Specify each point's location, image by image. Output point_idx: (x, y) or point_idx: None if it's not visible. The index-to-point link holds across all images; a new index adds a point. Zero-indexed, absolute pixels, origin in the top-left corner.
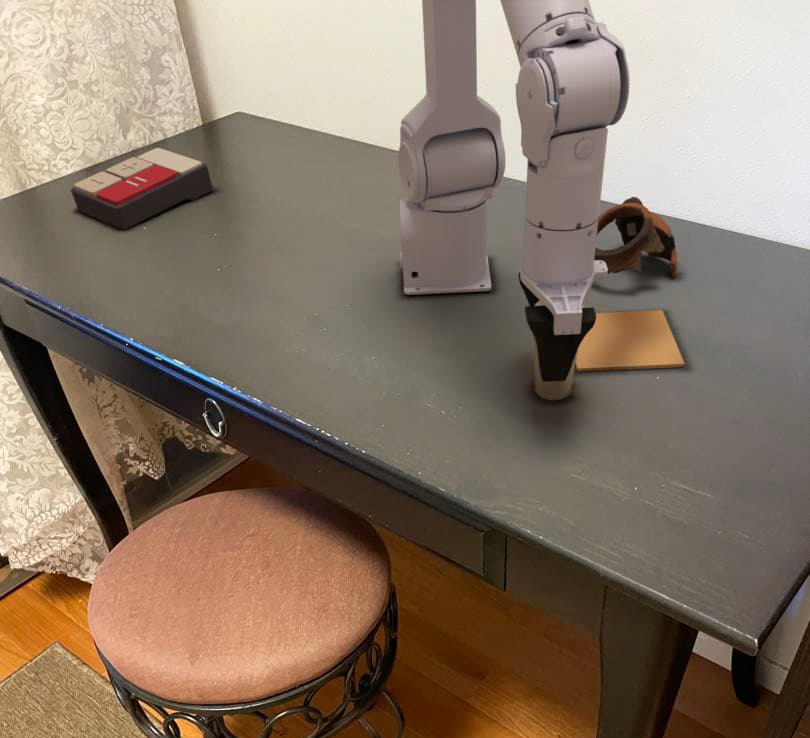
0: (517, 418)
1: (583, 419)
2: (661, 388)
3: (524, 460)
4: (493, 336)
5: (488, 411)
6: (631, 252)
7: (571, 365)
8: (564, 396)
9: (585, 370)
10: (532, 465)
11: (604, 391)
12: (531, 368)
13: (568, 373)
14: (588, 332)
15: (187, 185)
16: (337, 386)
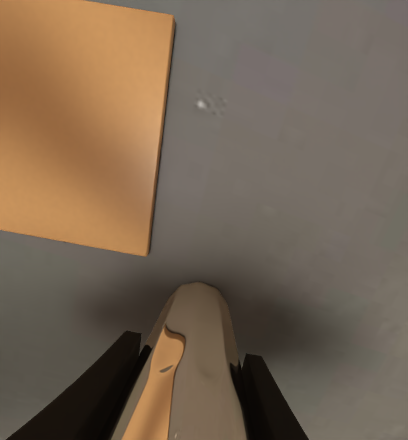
0: None
1: (290, 287)
2: (241, 111)
3: (357, 392)
4: (20, 345)
5: None
6: None
7: (281, 394)
8: (225, 302)
9: (149, 239)
10: (373, 386)
11: (220, 227)
12: (123, 318)
13: (269, 371)
14: (20, 195)
15: None
16: None
